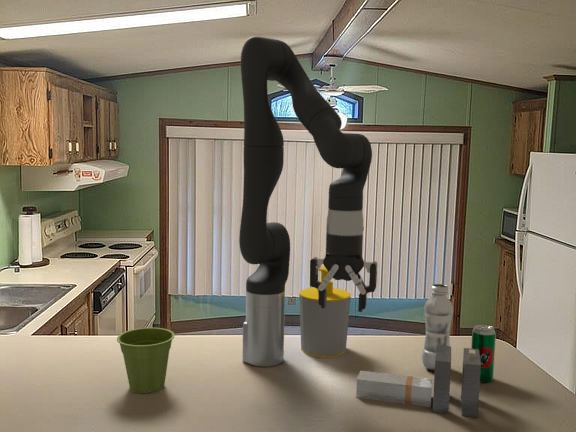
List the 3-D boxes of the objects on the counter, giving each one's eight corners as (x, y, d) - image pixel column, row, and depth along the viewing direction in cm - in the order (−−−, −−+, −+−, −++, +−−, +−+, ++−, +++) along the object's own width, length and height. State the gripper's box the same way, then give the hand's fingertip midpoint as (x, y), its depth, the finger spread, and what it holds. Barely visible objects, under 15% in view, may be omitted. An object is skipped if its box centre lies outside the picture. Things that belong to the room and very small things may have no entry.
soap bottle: (314, 361, 145) (316, 275, 142) (289, 345, 156) (290, 265, 154) (359, 353, 151) (362, 270, 148) (332, 338, 162) (334, 261, 160)
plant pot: (123, 377, 133) (122, 327, 132) (177, 376, 135) (177, 327, 133) (112, 399, 122) (111, 345, 120) (172, 398, 123) (171, 344, 122)
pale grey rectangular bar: (356, 397, 125) (356, 379, 125) (359, 388, 130) (360, 370, 129) (430, 407, 121) (431, 388, 121) (431, 397, 126) (432, 378, 125)
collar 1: (432, 411, 119) (435, 360, 118) (434, 392, 128) (436, 345, 127) (448, 413, 118) (451, 362, 117) (448, 394, 127) (451, 346, 126)
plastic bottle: (451, 375, 138) (456, 290, 135) (421, 372, 139) (425, 288, 137) (450, 365, 144) (454, 283, 142) (421, 363, 145) (424, 281, 143)
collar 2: (461, 415, 117) (464, 358, 116) (461, 396, 126) (464, 343, 125) (477, 417, 117) (481, 360, 115) (476, 398, 126) (479, 344, 124)
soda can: (497, 380, 135) (501, 328, 134) (482, 385, 133) (485, 332, 131) (480, 373, 140) (483, 322, 138) (464, 377, 137) (467, 325, 136)
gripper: (306, 231, 122) (304, 310, 124) (377, 235, 118) (374, 317, 120) (314, 226, 129) (312, 301, 131) (381, 230, 126) (378, 307, 128)
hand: (342, 309), depth 126 cm, fingers open, 7 cm apart
